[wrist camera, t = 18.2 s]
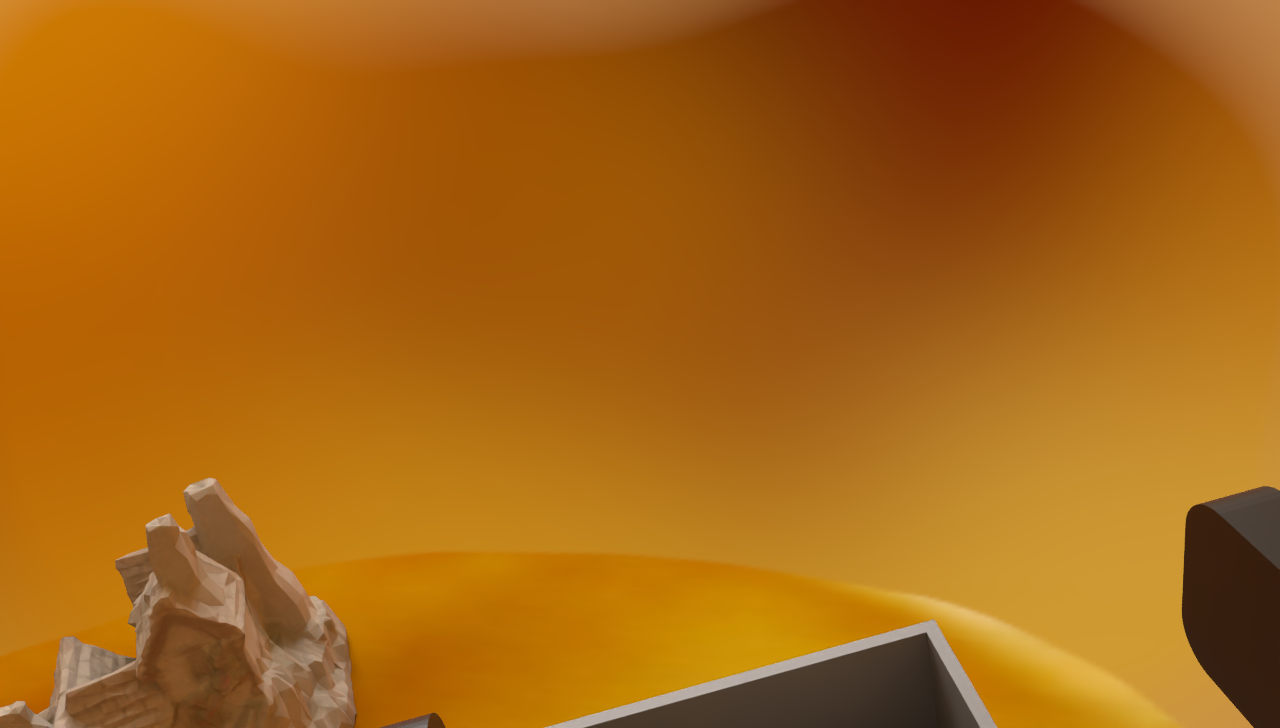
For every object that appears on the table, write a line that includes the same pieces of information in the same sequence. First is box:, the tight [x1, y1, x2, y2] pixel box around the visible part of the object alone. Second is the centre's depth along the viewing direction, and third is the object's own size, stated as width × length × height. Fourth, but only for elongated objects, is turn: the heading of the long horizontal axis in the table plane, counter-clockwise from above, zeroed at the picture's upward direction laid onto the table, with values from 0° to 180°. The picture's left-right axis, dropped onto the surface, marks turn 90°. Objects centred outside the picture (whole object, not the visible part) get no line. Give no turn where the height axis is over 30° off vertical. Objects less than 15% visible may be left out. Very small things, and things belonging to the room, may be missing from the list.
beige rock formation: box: [0, 478, 356, 728], centre depth 48 cm, size 16×16×15 cm
